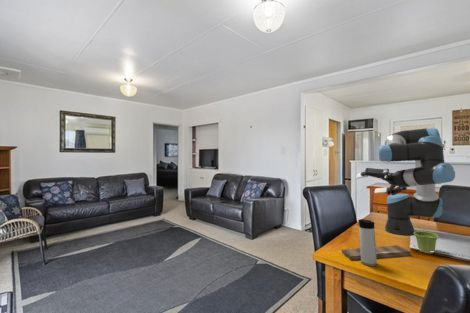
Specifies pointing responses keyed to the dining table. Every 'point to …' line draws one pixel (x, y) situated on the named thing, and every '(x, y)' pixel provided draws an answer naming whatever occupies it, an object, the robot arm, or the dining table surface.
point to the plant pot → (426, 241)
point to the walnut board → (378, 252)
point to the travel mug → (367, 242)
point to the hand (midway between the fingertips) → (366, 183)
